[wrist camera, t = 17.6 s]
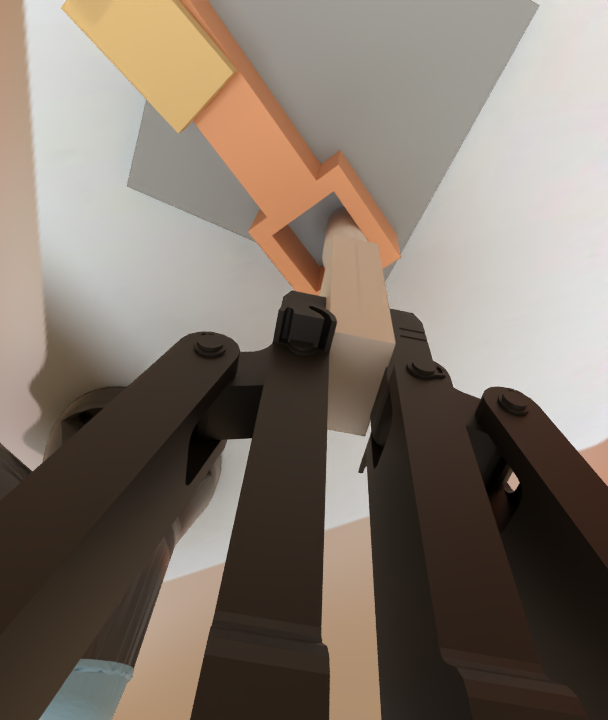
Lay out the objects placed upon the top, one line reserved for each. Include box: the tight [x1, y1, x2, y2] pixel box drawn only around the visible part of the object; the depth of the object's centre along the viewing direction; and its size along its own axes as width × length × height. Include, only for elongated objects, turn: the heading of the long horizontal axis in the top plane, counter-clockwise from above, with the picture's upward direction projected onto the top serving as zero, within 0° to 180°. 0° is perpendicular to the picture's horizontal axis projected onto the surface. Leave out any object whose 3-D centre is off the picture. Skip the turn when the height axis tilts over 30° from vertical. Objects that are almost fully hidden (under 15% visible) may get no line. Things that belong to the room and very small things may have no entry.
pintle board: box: [61, 0, 539, 281], centre depth 28 cm, size 18×22×7 cm
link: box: [179, 0, 401, 296], centre depth 30 cm, size 17×6×4 cm, turn 37°
